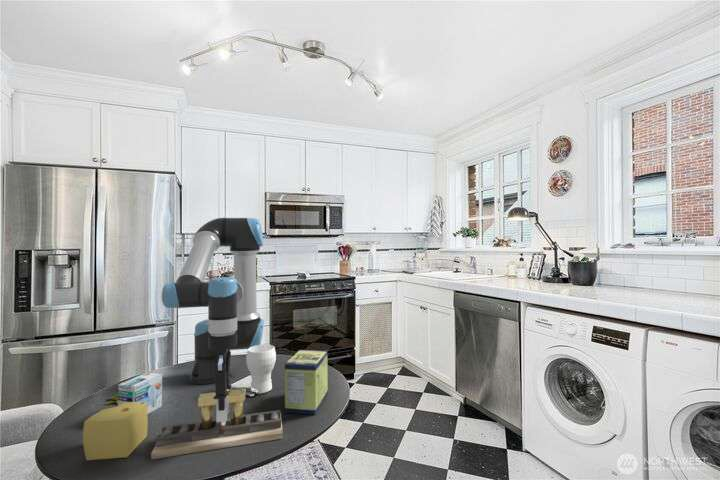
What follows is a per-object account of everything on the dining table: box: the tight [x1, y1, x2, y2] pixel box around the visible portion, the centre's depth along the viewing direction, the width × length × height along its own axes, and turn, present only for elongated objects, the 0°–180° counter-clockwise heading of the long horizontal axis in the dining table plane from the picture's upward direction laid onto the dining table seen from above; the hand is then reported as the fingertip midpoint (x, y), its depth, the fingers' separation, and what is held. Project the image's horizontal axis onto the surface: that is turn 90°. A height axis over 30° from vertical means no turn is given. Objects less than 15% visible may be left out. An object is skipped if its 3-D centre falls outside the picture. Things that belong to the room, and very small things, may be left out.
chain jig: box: [150, 409, 284, 460], centre depth 94 cm, size 12×32×4 cm, turn 106°
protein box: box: [284, 349, 329, 416], centre depth 113 cm, size 10×16×16 cm
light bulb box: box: [117, 372, 163, 415], centre depth 107 cm, size 11×7×11 cm, turn 166°
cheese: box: [82, 402, 149, 461], centre depth 89 cm, size 10×11×10 cm
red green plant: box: [104, 393, 118, 405], centre depth 118 cm, size 12×12×5 cm
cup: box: [245, 344, 277, 394], centre depth 124 cm, size 11×11×15 cm
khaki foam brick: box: [197, 388, 247, 430], centre depth 94 cm, size 4×12×9 cm, turn 106°
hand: (222, 416), depth 94 cm, fingers closed on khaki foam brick, 3 cm apart
